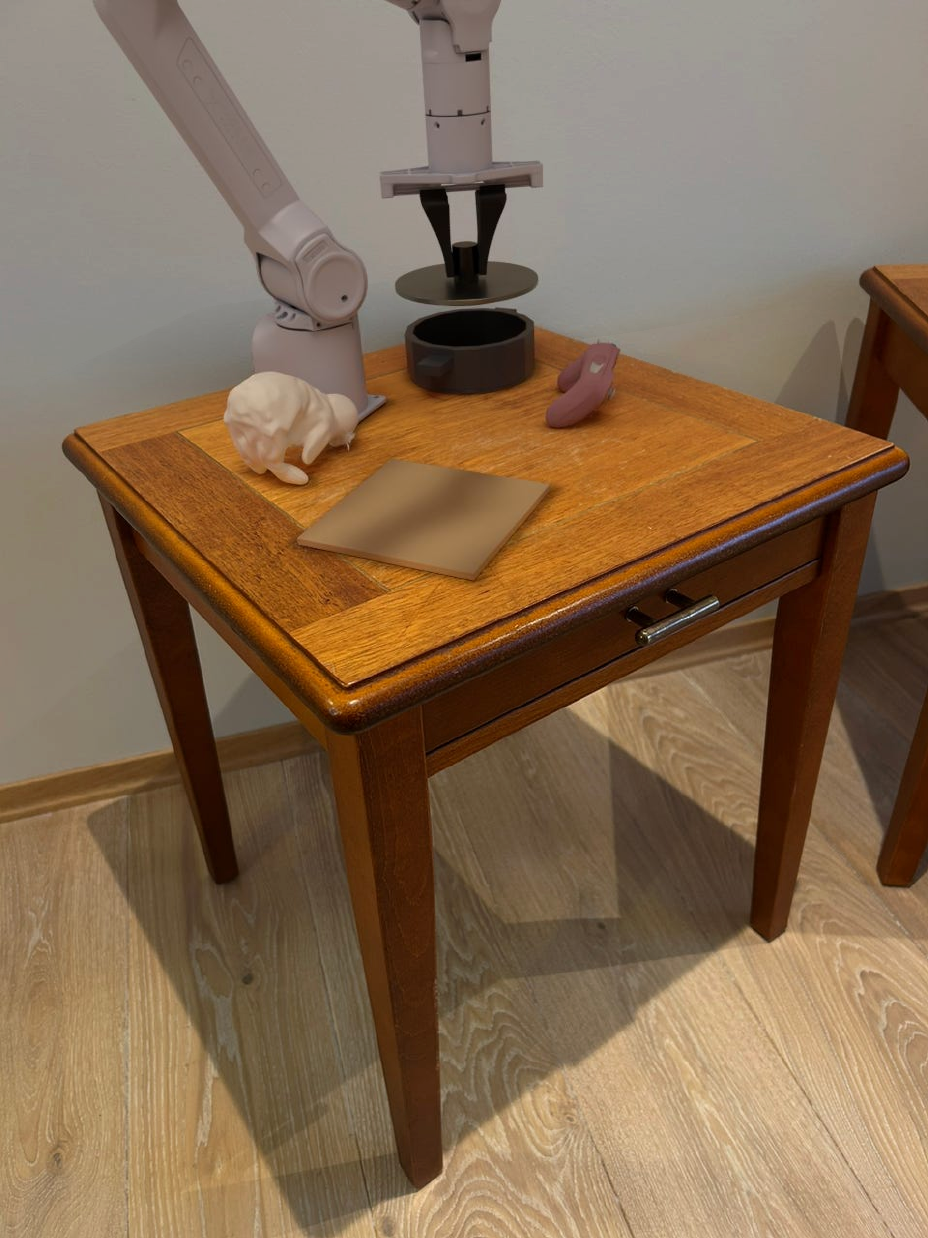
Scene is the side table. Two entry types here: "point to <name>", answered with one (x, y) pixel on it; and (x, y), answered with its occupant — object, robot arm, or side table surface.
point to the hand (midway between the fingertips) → (465, 273)
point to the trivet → (427, 518)
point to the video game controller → (584, 385)
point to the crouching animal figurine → (286, 422)
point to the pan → (470, 350)
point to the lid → (466, 281)
